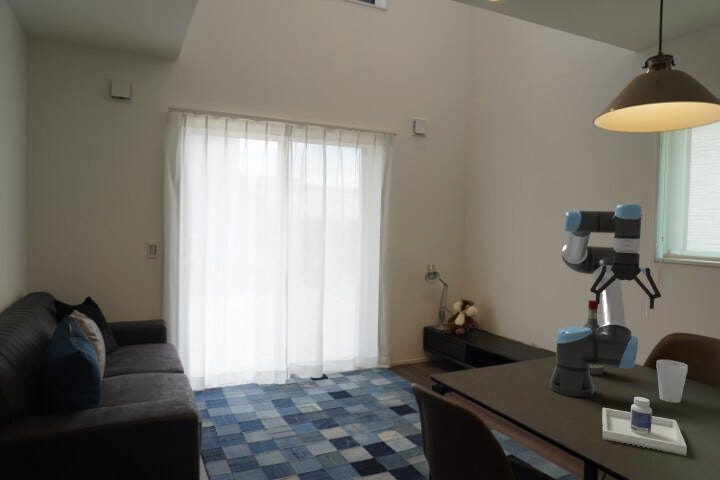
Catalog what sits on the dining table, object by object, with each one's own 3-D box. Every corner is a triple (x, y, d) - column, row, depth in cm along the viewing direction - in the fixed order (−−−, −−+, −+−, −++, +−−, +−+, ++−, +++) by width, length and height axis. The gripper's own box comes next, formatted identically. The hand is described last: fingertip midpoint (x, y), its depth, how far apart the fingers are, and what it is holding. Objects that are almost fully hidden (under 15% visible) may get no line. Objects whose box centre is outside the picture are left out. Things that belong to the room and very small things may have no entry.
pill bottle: (653, 436, 140) (655, 403, 139) (633, 434, 141) (635, 401, 140) (646, 428, 145) (648, 396, 145) (627, 426, 146) (628, 395, 146)
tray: (602, 439, 138) (603, 430, 138) (602, 415, 156) (602, 407, 156) (686, 455, 130) (686, 446, 129) (675, 428, 147) (675, 420, 147)
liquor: (573, 368, 207) (576, 299, 206) (591, 367, 209) (594, 299, 208) (588, 375, 198) (591, 302, 197) (607, 374, 200) (610, 302, 199)
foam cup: (686, 406, 166) (688, 369, 166) (654, 400, 171) (656, 364, 171) (685, 398, 174) (686, 362, 174) (654, 392, 179) (656, 358, 179)
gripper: (584, 250, 160) (581, 314, 160) (673, 254, 149) (669, 322, 149) (584, 249, 166) (581, 310, 167) (669, 253, 155) (666, 318, 156)
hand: (623, 316), depth 158 cm, fingers open, 13 cm apart
